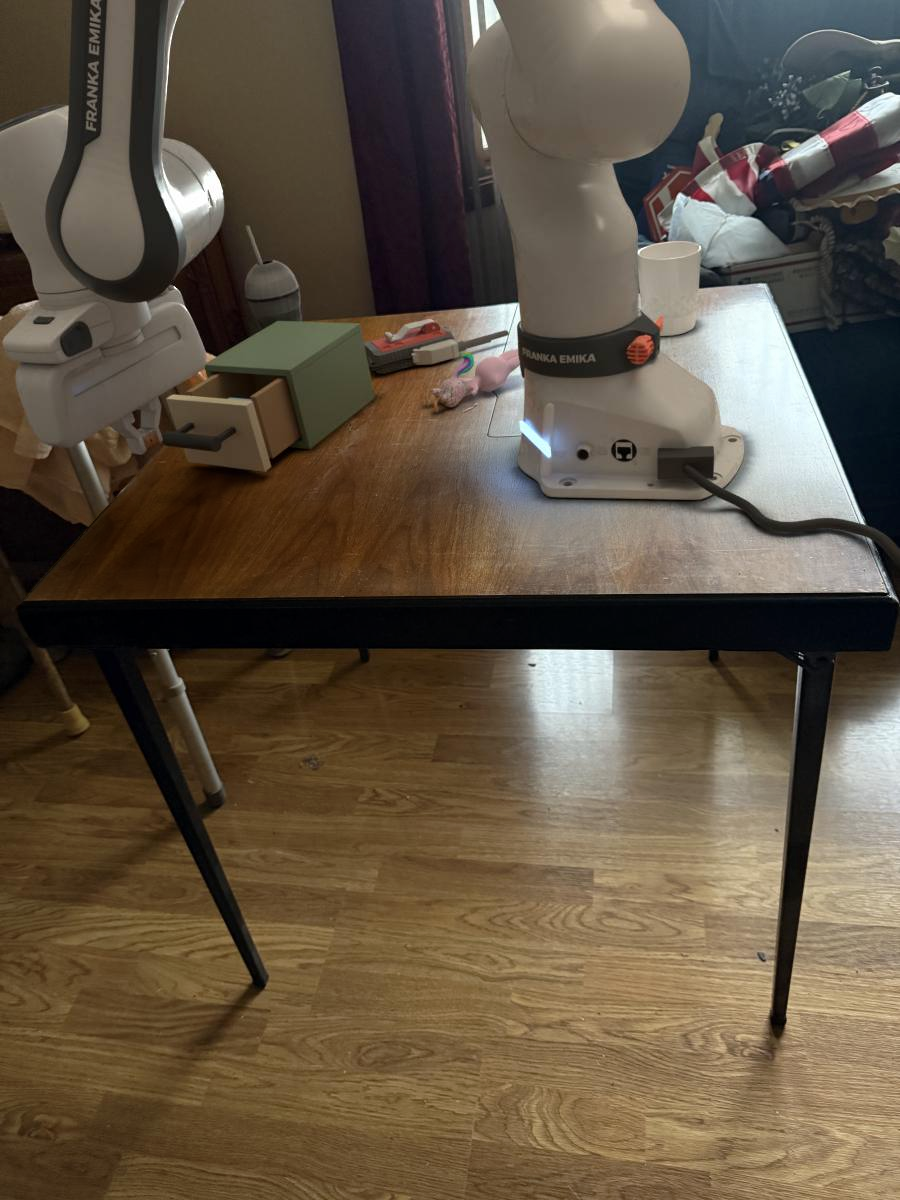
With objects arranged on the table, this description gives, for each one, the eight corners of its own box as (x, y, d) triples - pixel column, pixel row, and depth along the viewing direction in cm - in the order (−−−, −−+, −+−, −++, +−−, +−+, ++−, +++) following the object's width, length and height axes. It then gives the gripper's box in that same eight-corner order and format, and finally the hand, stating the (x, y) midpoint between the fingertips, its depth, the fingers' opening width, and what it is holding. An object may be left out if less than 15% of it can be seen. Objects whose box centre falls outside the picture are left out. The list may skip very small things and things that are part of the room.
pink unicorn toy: (446, 427, 104) (551, 372, 107) (431, 383, 100) (540, 327, 103) (424, 411, 109) (525, 359, 111) (409, 368, 105) (514, 315, 108)
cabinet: (310, 449, 101) (289, 369, 96) (226, 440, 107) (202, 364, 101) (375, 397, 111) (360, 323, 106) (295, 391, 117) (277, 320, 111)
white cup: (652, 342, 113) (651, 263, 108) (629, 324, 120) (628, 249, 114) (709, 330, 114) (712, 250, 108) (684, 313, 120) (685, 237, 115)
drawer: (240, 491, 93) (219, 423, 88) (162, 479, 98) (138, 414, 93) (332, 419, 105) (318, 356, 100) (258, 412, 110) (241, 352, 106)
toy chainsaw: (376, 383, 115) (512, 344, 120) (369, 351, 112) (509, 312, 117) (356, 364, 122) (486, 328, 127) (350, 333, 119) (482, 297, 124)
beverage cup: (309, 385, 118) (271, 229, 106) (260, 388, 120) (217, 235, 108) (326, 365, 124) (292, 215, 112) (278, 368, 125) (240, 220, 114)
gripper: (150, 275, 89) (192, 403, 97) (-15, 349, 74) (49, 492, 82) (197, 275, 86) (236, 407, 94) (35, 352, 72) (96, 500, 80)
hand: (147, 448), depth 88 cm, fingers closed
